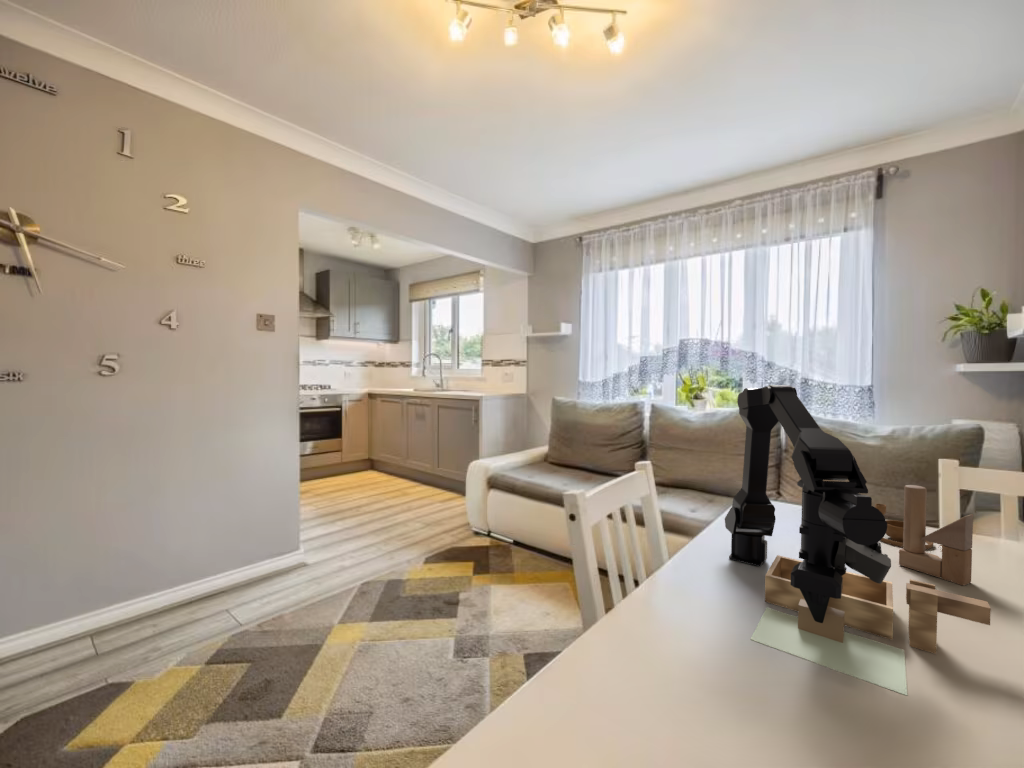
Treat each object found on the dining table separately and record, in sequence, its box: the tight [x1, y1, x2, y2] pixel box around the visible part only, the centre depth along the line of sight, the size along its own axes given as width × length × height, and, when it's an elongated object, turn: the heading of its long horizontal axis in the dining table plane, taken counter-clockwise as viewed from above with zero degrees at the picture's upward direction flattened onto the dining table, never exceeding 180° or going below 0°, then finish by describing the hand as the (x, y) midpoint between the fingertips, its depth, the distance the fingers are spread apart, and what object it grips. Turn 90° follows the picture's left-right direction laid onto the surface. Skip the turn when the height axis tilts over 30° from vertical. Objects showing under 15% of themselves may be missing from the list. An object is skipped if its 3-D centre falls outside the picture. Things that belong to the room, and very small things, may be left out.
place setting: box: [874, 503, 943, 550], centre depth 115 cm, size 18×20×6 cm
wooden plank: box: [905, 582, 992, 626], centre depth 67 cm, size 9×2×2 cm, turn 49°
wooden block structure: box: [898, 484, 974, 586], centre depth 93 cm, size 4×11×18 cm, turn 26°
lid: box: [750, 599, 908, 697], centre depth 68 cm, size 19×13×5 cm
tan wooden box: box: [764, 554, 938, 655], centre depth 78 cm, size 23×12×9 cm, turn 49°
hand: (820, 615), depth 71 cm, fingers open, 5 cm apart
